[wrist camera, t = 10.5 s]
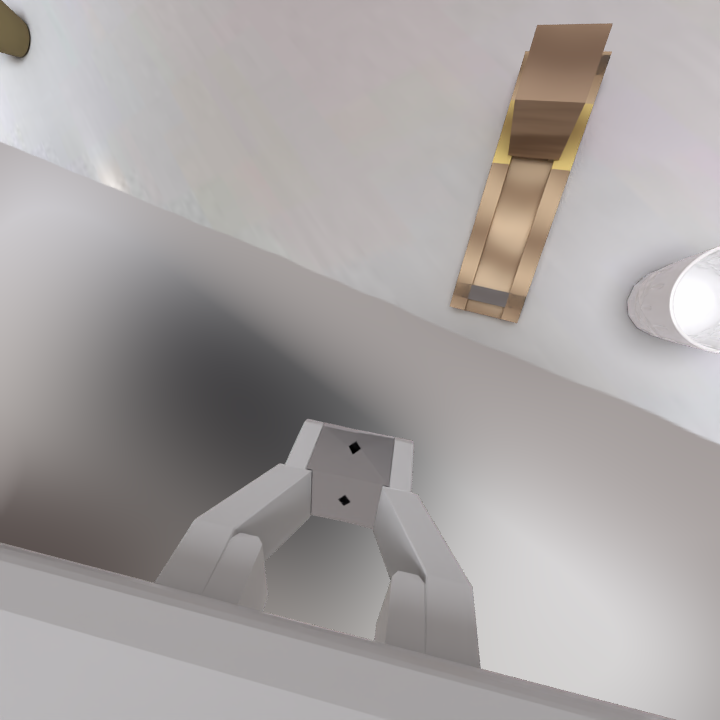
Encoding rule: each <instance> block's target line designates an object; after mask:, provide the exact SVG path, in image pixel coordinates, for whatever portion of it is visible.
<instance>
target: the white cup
mask: <svg viewBox="0 0 720 720" xmlns="http://www.w3.org/2000/svg"><path fill="white" fill-rule="evenodd" d="M627 305H628V316H629V317H630V319H631V320H632V321H633V323H634V324H635V326H636V327H637V328H638V329H640V330H642V331H644V332H646V333H648V334H650V335H652V336H655V337H659V338H661V339H664V340H667V341H671V342H674V343H677V344H681V345H685V346H689V347H693V348H697V349H701V350H705V351H709V352H713V353H717V354H720V246H718V247H716V248H713V249H710V250H707V251H704V252H702V253H699V254H696V255H693V256H690V257H687V258H684V259H682V260H680V261H677V262H675V263H672V264H670V265H667V266H665V267H664V268H662V269H660V270H657V271H654V272H652V273H649V274H648V275H646V276H645V277H644V278H643V279H642V280H640V281H639V282H638V283H637V284H636V285H634V287H633V289H632V291H631V294H630V296H629V298H628V300H627Z"/></svg>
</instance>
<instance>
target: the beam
mask: <svg viewBox="0 0 720 720" xmlns="http://www.w3.org/2000/svg"><path fill="white" fill-rule="evenodd" d="M611 53H612V52H603V53H602V56H601V59H600V62H599V65H598V68H597V71H596V74H595V76H594V79H593V82H592V85H591V88H590V91H589V94H588V97H587V100H586V103H585V105H584V107H583V109H582V111H581V113H580V116H579V118H578V120H577V122H576V124H575V126H574V129H573V131H572V133H571V135H570V137H569V139H568V141H567V144H566V146H565V148H564V150H563V152H562V154H561V157H560V159H559V160H553V159H548V161H545V160H535V159H525V158H518V156H512V155H508V151H509V143H510V135H511V127H512V119H513V111H514V103H515V98H516V94H517V91H518V88H519V84H520V81H521V78H522V74H523V71H524V68H525V64H526V61H527V58H528V54H529V51H525V55H524V58H523V62H522V65H521V68H520V72H519V75H518V78H517V82H516V85H515V88H514V92H513V95H512V98H511V102H510V105H509V109H508V112H507V115H506V119H505V122H504V125H503V129H502V132H501V135H500V139H499V142H498V145H497V149H496V152H495V156H494V159H493V162H492V166H491V169H490V172H489V176H488V179H487V182H486V186H485V189H484V193H483V196H482V199H481V203H480V206H479V209H478V213H477V216H476V219H475V223H474V226H473V229H472V233H471V236H470V240H469V243H468V246H467V250H466V253H465V256H464V260H463V263H462V266H461V270H460V273H459V276H458V280H457V283H456V287H455V290H454V293H453V297H452V300H451V303H450V307H454V308H458V309H462V310H467V311H471V312H475V313H479V314H483V315H487V316H491V317H495V318H499V319H502V320H507V321H511V322H515V323H517V322H518V319H519V316H520V313H521V310H522V307H523V305H524V302H525V299H526V296H527V293H528V290H529V287H530V285H531V282H532V279H533V276H534V273H535V270H536V267H537V265H538V262H539V259H540V256H541V253H542V250H543V247H544V245H545V242H546V239H547V236H548V233H549V230H550V227H551V225H552V222H553V219H554V216H555V213H556V210H557V207H558V204H559V202H560V199H561V196H562V193H563V190H564V187H565V184H566V182H567V179H568V176H569V173H570V170H571V167H572V164H573V162H574V159H575V156H576V153H577V150H578V147H579V144H580V142H581V139H582V136H583V133H584V130H585V127H586V124H587V122H588V119H589V116H590V113H591V110H592V107H593V104H594V102H595V99H596V96H597V93H598V90H599V87H600V84H601V81H602V79H603V76H604V73H605V70H606V67H607V64H608V61H609V59H610V56H611Z"/></svg>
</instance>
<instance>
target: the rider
mask: <svg viewBox="0 0 720 720" xmlns="http://www.w3.org/2000/svg"><path fill="white" fill-rule="evenodd" d="M611 27H612V24H565V25H537V28H536V31H535V34H534V38H533V41H532V44H531V48H530V51H529V54H528V58H527V61H526V64H525V68H524V71H523V74H522V78H521V81H520V84H519V88H518V91H517V94H516V98H515V103H514V111H513V119H512V127H511V135H510V143H509V151H508V155H512V156H518V158H525V159H535V160H545V161H548V159H553V160H559V159H560V157H561V154H562V152H563V150H564V148H565V146H566V144H567V141H568V139H569V137H570V135H571V133H572V131H573V129H574V126H575V124H576V122H577V120H578V118H579V116H580V113H581V111H582V109H583V107H584V105H585V103H586V100H587V97H588V94H589V91H590V88H591V85H592V82H593V79H594V76H595V74H596V71H597V68H598V65H599V62H600V59H601V56H602V53H603V50H604V47H605V45H606V42H607V39H608V36H609V33H610V30H611Z"/></svg>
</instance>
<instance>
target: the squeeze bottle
mask: <svg viewBox="0 0 720 720" xmlns="http://www.w3.org/2000/svg"><path fill="white" fill-rule="evenodd" d="M28 46H29V31H28V28H27V25H26V24H25V22H24V21H23V20H22V19H21V18H20V17H18V16H17V15H16V14H15V13H14V12H13V11H12V10H11V9H10V8H9V7H8V6H7V5H6V4H5V3H4V2H3V1H2V0H0V52H2V53H6V54H9V55H13V56H17V57H23V56H24V55H25V54H26V52H27V50H28Z"/></svg>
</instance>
